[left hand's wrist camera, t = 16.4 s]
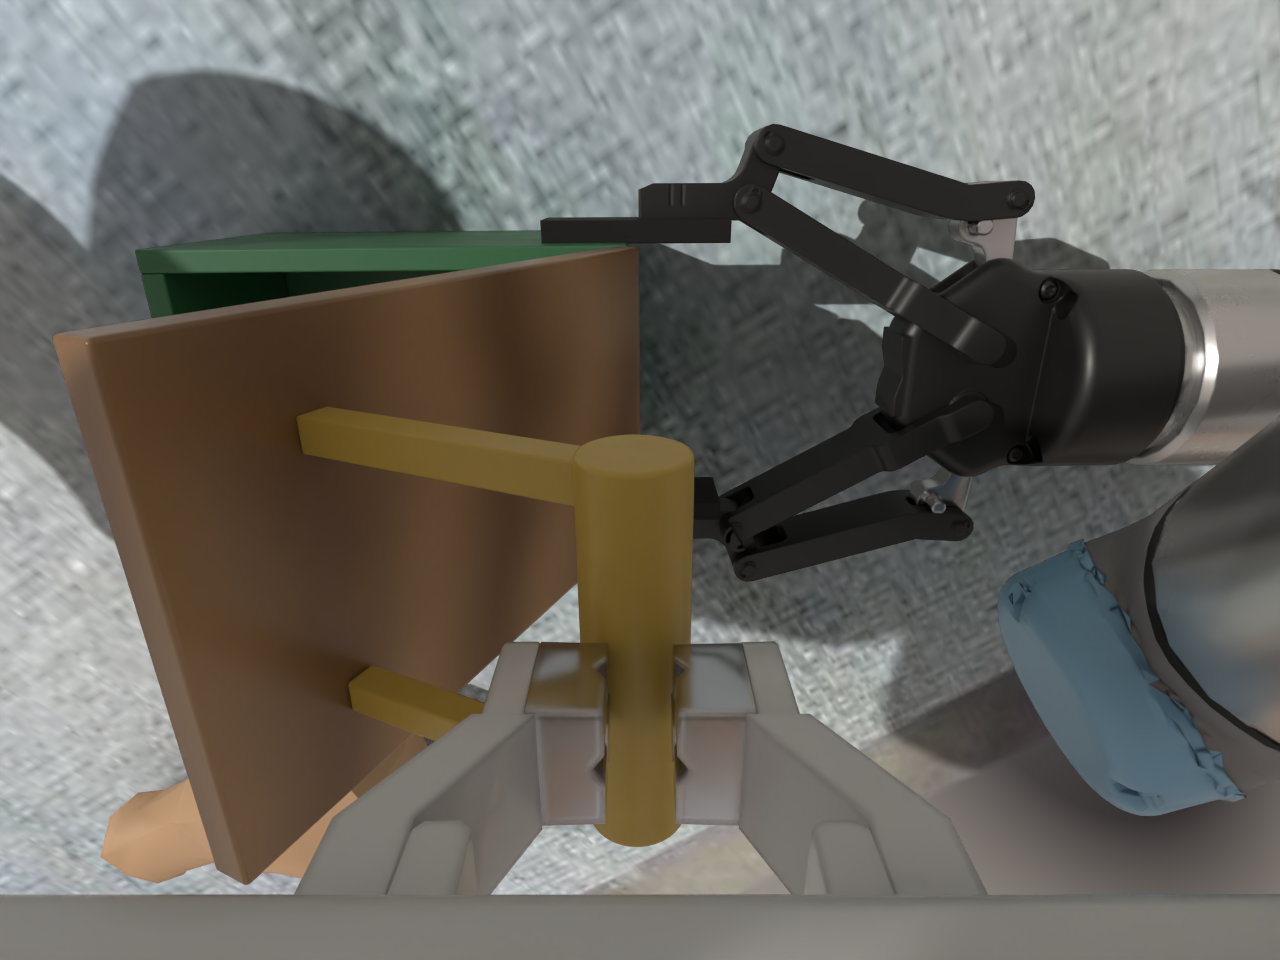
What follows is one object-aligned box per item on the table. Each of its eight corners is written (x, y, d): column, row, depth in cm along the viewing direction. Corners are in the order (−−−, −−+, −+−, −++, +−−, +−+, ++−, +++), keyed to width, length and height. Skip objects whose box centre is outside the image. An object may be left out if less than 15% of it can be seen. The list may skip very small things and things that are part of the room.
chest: (307, 440, 36) (203, 524, 27) (268, 232, 32) (133, 249, 23) (629, 436, 36) (631, 517, 27) (626, 229, 33) (627, 245, 24)
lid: (214, 871, 13) (596, 1080, 10) (46, 333, 10) (563, 398, 6) (621, 520, 27) (835, 562, 24) (615, 245, 23) (868, 253, 20)
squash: (486, 742, 43) (452, 899, 36) (243, 827, 49) (170, 977, 42) (367, 629, 38) (299, 785, 31) (109, 738, 44) (-2, 892, 36)
